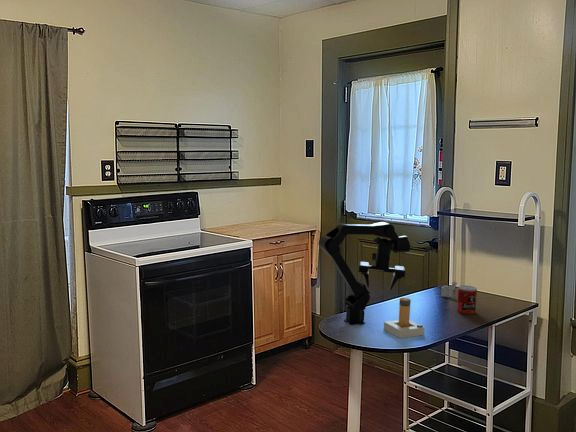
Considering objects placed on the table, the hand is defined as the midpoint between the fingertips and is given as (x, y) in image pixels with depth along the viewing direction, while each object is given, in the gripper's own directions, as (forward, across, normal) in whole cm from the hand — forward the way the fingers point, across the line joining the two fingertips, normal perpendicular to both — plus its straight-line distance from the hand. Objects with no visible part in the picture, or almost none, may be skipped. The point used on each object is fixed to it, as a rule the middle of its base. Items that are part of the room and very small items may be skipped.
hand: (379, 288), depth 237 cm
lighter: (+16, -36, -39) cm, 55 cm away
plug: (+9, -10, +18) cm, 23 cm away
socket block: (+9, -10, +18) cm, 23 cm away
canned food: (+12, -39, -15) cm, 44 cm away
